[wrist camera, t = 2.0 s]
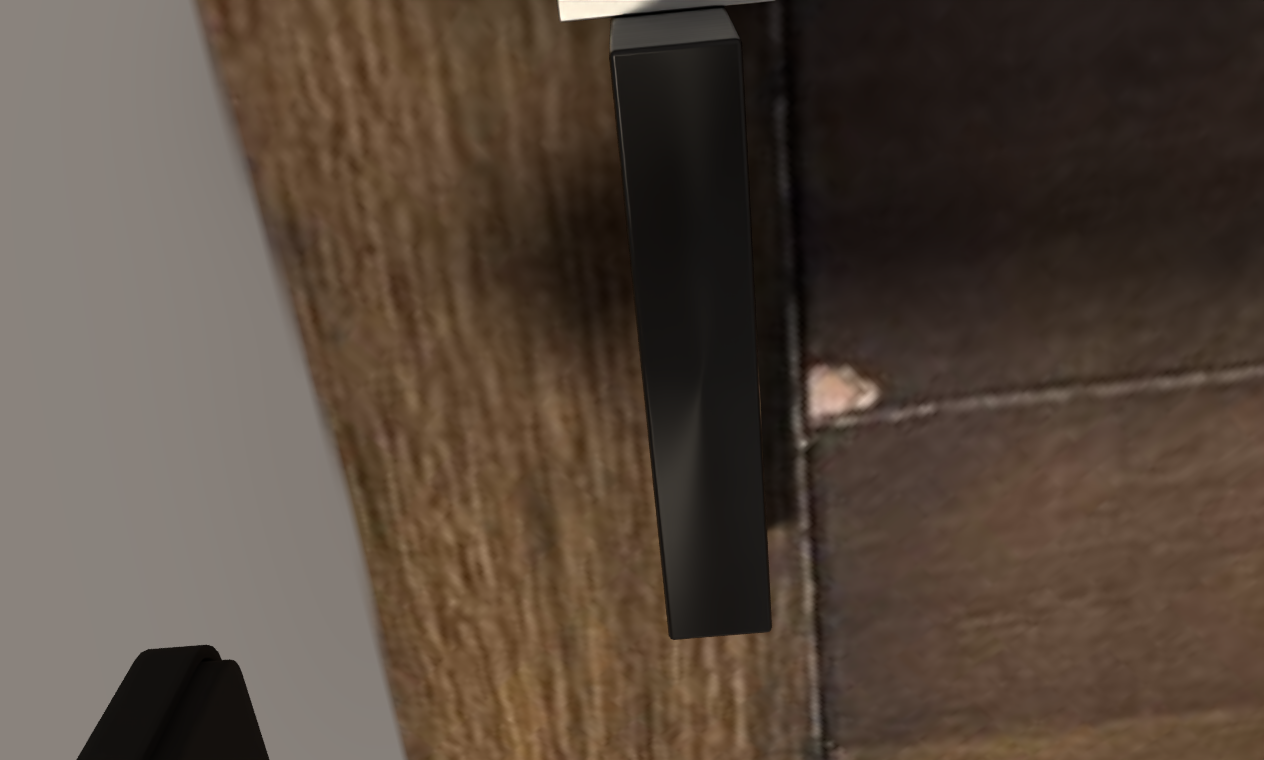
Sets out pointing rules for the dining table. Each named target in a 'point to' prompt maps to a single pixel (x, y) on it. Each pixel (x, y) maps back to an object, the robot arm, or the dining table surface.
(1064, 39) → the dining table surface
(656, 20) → the knife
